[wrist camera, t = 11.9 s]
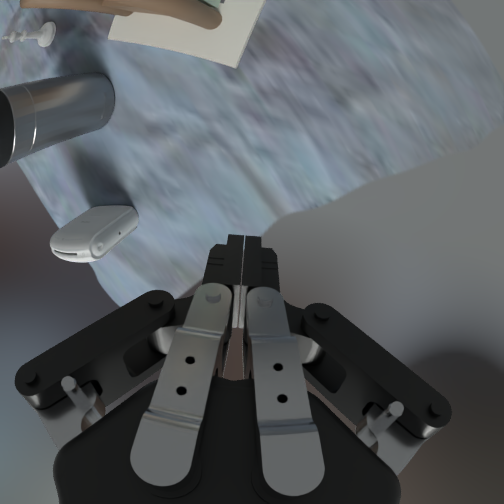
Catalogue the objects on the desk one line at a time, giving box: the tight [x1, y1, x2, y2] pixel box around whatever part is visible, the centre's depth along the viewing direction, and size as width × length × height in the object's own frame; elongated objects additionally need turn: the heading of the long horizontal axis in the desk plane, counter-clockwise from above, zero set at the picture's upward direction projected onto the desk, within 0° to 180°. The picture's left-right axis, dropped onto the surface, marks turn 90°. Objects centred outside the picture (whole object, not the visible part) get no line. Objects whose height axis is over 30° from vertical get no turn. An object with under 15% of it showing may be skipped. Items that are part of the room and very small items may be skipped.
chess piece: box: [2, 22, 56, 47], centre depth 25 cm, size 5×5×10 cm
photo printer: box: [50, 205, 139, 262], centre depth 39 cm, size 10×4×12 cm, turn 94°
